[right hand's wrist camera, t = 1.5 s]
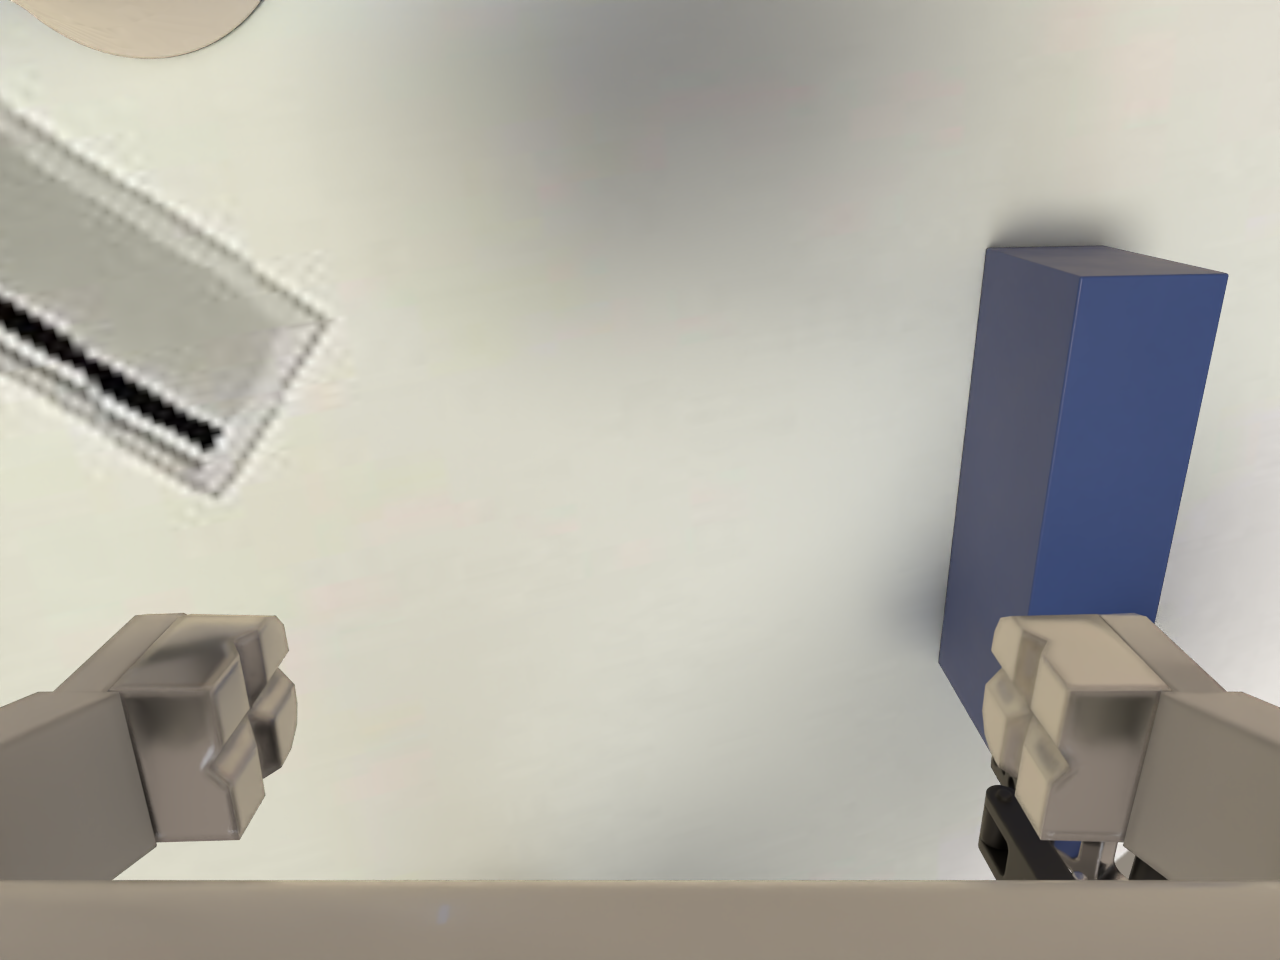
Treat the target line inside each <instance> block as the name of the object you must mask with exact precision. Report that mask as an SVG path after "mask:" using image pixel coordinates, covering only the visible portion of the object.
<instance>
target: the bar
mask: <svg viewBox="0 0 1280 960" xmlns="http://www.w3.org/2000/svg"><path fill="white" fill-rule="evenodd" d="M1227 280H1228V274H1227V273H1223V272H1219V271H1214V270H1210V269H1205V268H1201V267H1196V266H1192V265H1187V264H1183V263H1178V262H1174V261H1169V260H1165V259H1160V258H1156V257H1151V256H1147V255H1142V254H1138V253H1133V252H1129V251H1124V250H1120V249H1115V248H1111V247H1106V246H1063V247H1012V248H988V249H987V251H986V260H985V268H984V277H983V286H982V294H981V303H980V311H979V320H978V329H977V337H976V346H975V354H974V363H973V371H972V380H971V389H970V397H969V406H968V414H967V423H966V432H965V440H964V449H963V457H962V466H961V475H960V483H959V492H958V500H957V509H956V518H955V526H954V535H953V543H952V552H951V561H950V569H949V578H948V586H947V595H946V604H945V612H944V621H943V629H942V638H941V647H940V655H939V664H940V666H941V668H942V669H943V671H944V673H945V675H946V676H947V678H948V680H949V682H950V683H951V685H952V687H953V688H954V690H955V692H956V694H957V695H958V697H959V699H960V701H961V702H962V704H963V706H964V708H965V709H966V711H967V713H968V714H969V716H970V718H971V720H972V721H973V723H974V725H975V727H976V728H977V730H978V732H979V733H980V735H981V737H982V739H983V740H984V742H985V744H986V746H987V747H988V744H987V740H986V737H985V734H984V723H983V712H982V708H983V700H984V692H985V684H986V683H987V682H988V681H989V680H990V679H991V678H992V677H993V676H994V675H995V674H996V673H997V672H998V671H999V670H1000V669H1001V668H1002V667H1001V665H1000V663H999V662H998V660H997V659H996V657H995V656H994V654H993V653H992V651H991V648H992V642H993V637H994V631H995V629H996V627H997V624H998V622H999V620H1000V618H1002V617H1009V616H1036V615H1077V614H1120V613H1136V614H1140V615H1143V616H1146V617H1147V618H1148V619H1149V620H1151V621H1152V622H1153V623H1155V619H1156V614H1157V609H1158V605H1159V600H1160V595H1161V591H1162V586H1163V581H1164V576H1165V572H1166V567H1167V562H1168V558H1169V553H1170V548H1171V543H1172V539H1173V534H1174V529H1175V525H1176V520H1177V515H1178V511H1179V506H1180V501H1181V496H1182V492H1183V487H1184V482H1185V478H1186V473H1187V468H1188V464H1189V459H1190V454H1191V449H1192V445H1193V440H1194V435H1195V431H1196V426H1197V421H1198V417H1199V412H1200V407H1201V402H1202V398H1203V393H1204V388H1205V384H1206V379H1207V374H1208V369H1209V365H1210V360H1211V355H1212V351H1213V346H1214V341H1215V337H1216V332H1217V327H1218V322H1219V318H1220V313H1221V308H1222V304H1223V299H1224V294H1225V290H1226V285H1227ZM988 749H989V747H988ZM989 751H990V750H989Z"/></svg>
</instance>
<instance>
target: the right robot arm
mask: <svg viewBox="0 0 1280 960" xmlns="http://www.w3.org/2000/svg"><path fill="white" fill-rule="evenodd" d="M10 1H12V2H14V3H16V4H18V5H19V6H21V7H23V8H24V9H26V10H27V11H28V12H29V13H31V14H32V15H33V16H34V17H36V18H37V19H38V20H40V21H41V22H42V23H44V24H45V25H47V26H49V27H50V28H52V29H53V30H55V31H56V32H58V33H60V34H62V35H63V36H65V37H67V38H69V39H71V40H73V41H75V42H77V43H79V44H82V45H84V46H87V47H89V48H92V49H95V50H98V51H101V52H105V53H109V54H113V55H117V56H123V57H130V58H141V59H155V58H167V57H173V56H178V55H183V54H187V53H190V52H193V51H196V50H199V49H201V48H204V47H206V46H208V45H210V44H212V43H214V42H216V41H218V40H219V39H221V38H222V37H224V36H225V35H227V34H229V33H230V32H231V31H232V30H234V29H235V28H236V27H237V26H239V25H240V24H241V23H242V22H243V21H244V20H245V19H246V18H247V17H248V16H249V15H250V14H251V13H252V11H253V10H254V9H255V8H256V7H257V5H258V4H259V3H260V1H261V0H10ZM288 651H289V648H288V643H287V638H286V633H285V628H284V624H283V623H282V622H281V621H280V620H279V619H278V618H277V617H276V616H268V615H215V614H189V615H187V614H185V613H169V614H144V615H135V616H134V617H133V618H132V619H131V620H130V621H129V622H128V623H127V624H125V625H124V626H123V627H122V628H121V629H120V630H119V631H118V632H117V633H116V634H115V635H114V636H113V637H111V638H110V639H109V640H108V641H107V642H106V643H105V644H104V645H103V646H102V647H101V648H100V649H99V650H97V651H96V652H95V653H94V654H93V655H92V656H91V657H90V658H89V659H88V660H87V661H86V662H85V663H83V664H82V665H81V666H80V667H79V668H78V669H77V670H76V671H75V672H74V673H73V674H72V675H71V676H69V677H68V678H67V679H66V680H65V681H64V682H63V683H62V684H61V685H60V686H59V687H58V688H57V689H55V690H54V691H53V692H37V693H34V694H32V695H29V696H27V697H24V698H22V699H20V700H17V701H15V702H12V703H10V704H7V705H5V706H3V707H0V960H1280V707H1277V706H1275V705H1273V704H1270V703H1268V702H1265V701H1263V700H1260V699H1258V698H1256V697H1253V696H1251V695H1248V694H1246V693H1243V692H1227V691H1226V690H1225V689H1224V688H1222V687H1221V686H1220V685H1219V684H1218V683H1217V682H1216V681H1215V680H1214V679H1213V678H1212V677H1211V676H1210V675H1209V674H1207V673H1206V672H1205V671H1204V670H1203V669H1202V668H1201V667H1200V666H1199V665H1198V664H1197V663H1196V662H1195V661H1193V660H1192V659H1191V658H1190V657H1189V656H1188V655H1187V654H1186V653H1185V652H1184V651H1183V650H1182V649H1181V648H1180V647H1178V646H1177V645H1176V644H1175V643H1174V642H1173V641H1172V640H1171V639H1170V638H1169V637H1168V636H1167V635H1166V634H1164V633H1163V632H1162V631H1161V630H1160V629H1159V628H1158V627H1157V626H1156V625H1155V624H1154V623H1153V622H1152V621H1151V620H1149V619H1148V618H1147V617H1146V616H1143V615H1140V614H1136V613H1120V614H1077V615H1036V616H1009V617H1002V618H1000V620H999V622H998V624H997V627H996V629H995V631H994V637H993V642H992V648H991V651H992V653H993V654H994V656H995V657H996V659H997V660H998V662H999V663H1000V665H1001V667H1002V668H1001V669H1000V670H999V671H998V672H997V673H996V674H995V675H994V676H993V677H992V678H991V679H990V680H989V681H988V682H987V683H986V684H985V692H984V700H983V708H982V712H983V723H984V734H985V737H986V740H987V744H988V747H989V750H990V752H991V754H992V756H993V758H994V760H995V762H996V763H997V765H998V767H999V768H1001V769H1002V770H1004V771H1005V772H1007V773H1009V774H1010V775H1012V776H1013V777H1015V778H1016V779H1017V784H1016V790H1015V797H1016V799H1017V800H1018V802H1019V804H1020V805H1021V807H1022V809H1023V811H1024V812H1025V814H1026V816H1027V818H1028V819H1029V821H1030V823H1031V824H1032V826H1033V828H1034V830H1035V831H1036V833H1037V835H1038V836H1039V838H1040V840H1059V841H1096V842H1124V844H1123V846H1124V847H1125V848H1127V849H1128V850H1129V851H1131V852H1132V853H1133V854H1135V855H1136V856H1137V857H1139V858H1140V859H1141V860H1143V861H1144V862H1145V863H1146V864H1148V865H1149V866H1150V867H1152V868H1153V869H1154V870H1156V871H1157V872H1158V873H1160V874H1161V875H1162V876H1164V877H1165V878H1166V879H1168V880H113V879H114V878H115V877H117V876H118V875H119V874H121V873H122V872H123V871H125V870H126V869H127V868H129V867H130V866H131V865H133V864H134V863H135V862H137V861H138V860H139V859H141V858H142V857H143V856H144V855H146V854H147V853H148V852H150V851H151V850H152V849H154V848H155V847H156V846H157V844H156V842H183V841H219V840H240V838H241V837H242V835H243V833H244V831H245V830H246V828H247V826H248V825H249V823H250V821H251V819H252V818H253V816H254V814H255V812H256V811H257V809H258V807H259V806H260V804H261V802H262V800H263V799H264V797H265V790H264V784H263V779H264V778H265V777H267V776H268V775H270V774H272V773H273V772H275V771H276V770H278V769H279V768H281V767H282V765H283V763H284V762H285V760H286V758H287V756H288V754H289V752H290V750H291V748H292V744H293V739H294V735H295V731H296V727H297V698H296V691H295V684H294V683H293V682H292V681H291V680H290V679H289V678H288V677H287V676H286V675H285V674H284V673H283V672H282V671H281V670H280V669H279V668H278V667H279V665H280V664H281V662H282V660H283V659H284V657H285V656H286V654H287V653H288Z"/></svg>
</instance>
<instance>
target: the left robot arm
mask: <svg viewBox="0 0 1280 960" xmlns="http://www.w3.org/2000/svg"><path fill="white" fill-rule="evenodd" d="M991 768H992V769H993V771H994V773H995V775H996V776H997V779H998V780H999V782H1000V784H1001V785H994V786H991V787H989V788H988V789H987V791H986V797H985V804H984V811H983V817H982V824H981V830H980V836H979V843H978V846H979V849H980V851H981V853H982V855H983V857H984V859H985V860H986V862H987V864H988V866H989V868H990V869H991V871H992V873H993V875H994V877H995V879H996V880H1168V879H1166V878H1165V877H1164V876H1162V875H1161V874H1160V873H1158V872H1157V871H1156V870H1154V869H1153V868H1152V867H1150V866H1149V865H1148V864H1146V863H1145V862H1144V861H1143V860H1141V859H1140V858H1139V857H1137V856H1136V855H1135V858H1134V862H1133V866H1132V869H1131V873H1130V876H1129V879H1128V878H1127V877H1125V876H1124V875H1123V874H1121V873H1120V872H1119V870H1118V869H1117V867H1116V865H1115V863H1114V857H1115V852H1116V848H1117V843H1118V842H1096V841H1059V840H1040V838H1039V836H1038V835H1037V833H1036V831H1035V830H1034V828H1033V826H1032V824H1031V823H1030V821H1029V819H1028V818H1027V816H1026V814H1025V812H1024V811H1023V809H1022V807H1021V805H1020V804H1019V802H1018V800H1017V799H1016V797H1015V790H1016V784H1017V779H1016V778H1015V777H1013V776H1012V775H1010V774H1009V773H1007V772H1005V771H1004V770H1002V769H1001V768H999V767H998V765H997V763H996V762H995V760H994V758H993V756H992V758H991ZM1068 868H1069V869H1070V870H1069V869H1068ZM1070 871H1071V872H1072V873H1071V872H1070Z"/></svg>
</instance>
